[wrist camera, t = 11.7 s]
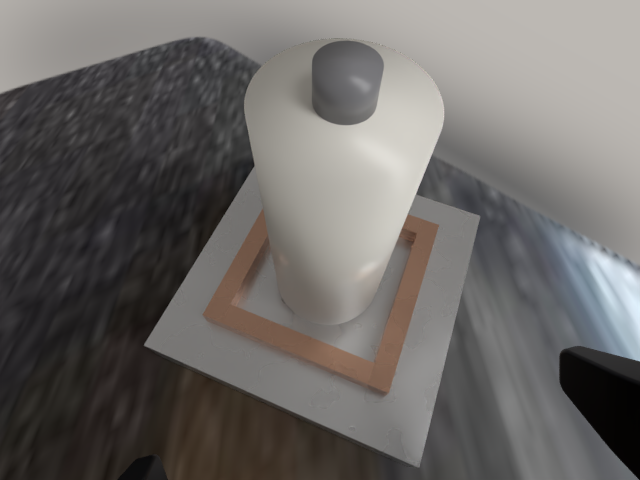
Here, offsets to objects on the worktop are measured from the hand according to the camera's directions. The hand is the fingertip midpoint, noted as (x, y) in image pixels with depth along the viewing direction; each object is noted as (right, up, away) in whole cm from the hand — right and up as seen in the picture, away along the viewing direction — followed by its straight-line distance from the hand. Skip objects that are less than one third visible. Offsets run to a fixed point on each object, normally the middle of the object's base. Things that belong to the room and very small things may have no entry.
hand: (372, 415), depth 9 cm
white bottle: (-1, +2, +13) cm, 13 cm away
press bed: (-1, +1, +15) cm, 15 cm away
